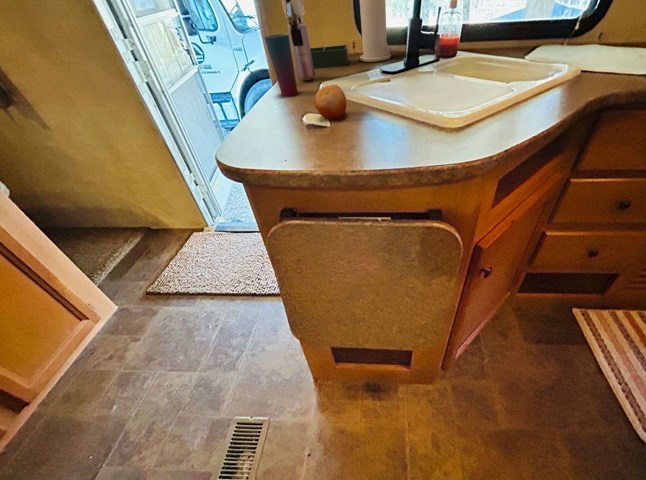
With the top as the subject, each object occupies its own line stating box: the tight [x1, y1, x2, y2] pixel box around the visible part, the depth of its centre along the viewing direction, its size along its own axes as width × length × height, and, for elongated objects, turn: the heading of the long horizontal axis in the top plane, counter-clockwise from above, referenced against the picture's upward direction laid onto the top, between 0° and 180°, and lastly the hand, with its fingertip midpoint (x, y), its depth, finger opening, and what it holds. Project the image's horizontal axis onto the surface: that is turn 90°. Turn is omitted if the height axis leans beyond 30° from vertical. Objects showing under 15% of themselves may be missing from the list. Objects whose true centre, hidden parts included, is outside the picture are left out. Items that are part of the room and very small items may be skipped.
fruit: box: [313, 84, 347, 120], centre depth 79 cm, size 8×8×8 cm
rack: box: [310, 44, 350, 69], centre depth 125 cm, size 18×9×5 cm, turn 90°
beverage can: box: [287, 21, 316, 81], centre depth 104 cm, size 6×6×15 cm
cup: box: [264, 32, 298, 98], centre depth 94 cm, size 7×7×15 cm
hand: (300, 43), depth 103 cm, fingers closed on beverage can, 6 cm apart
